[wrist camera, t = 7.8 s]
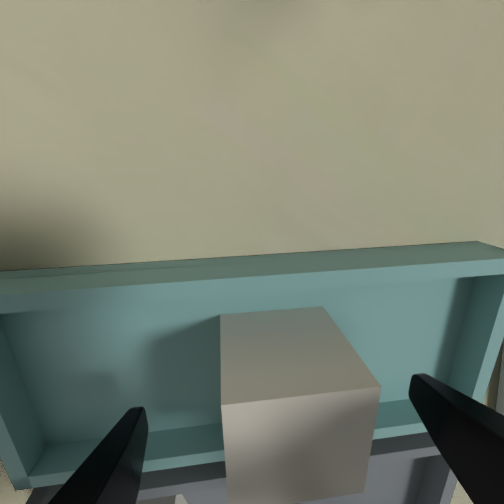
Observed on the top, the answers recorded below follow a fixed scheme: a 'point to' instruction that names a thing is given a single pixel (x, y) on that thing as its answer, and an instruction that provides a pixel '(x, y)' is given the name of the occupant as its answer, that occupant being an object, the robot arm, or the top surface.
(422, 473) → the tray
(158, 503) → the cube
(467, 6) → the top surface
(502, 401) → the hard drive
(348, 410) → the cube block
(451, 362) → the tray
